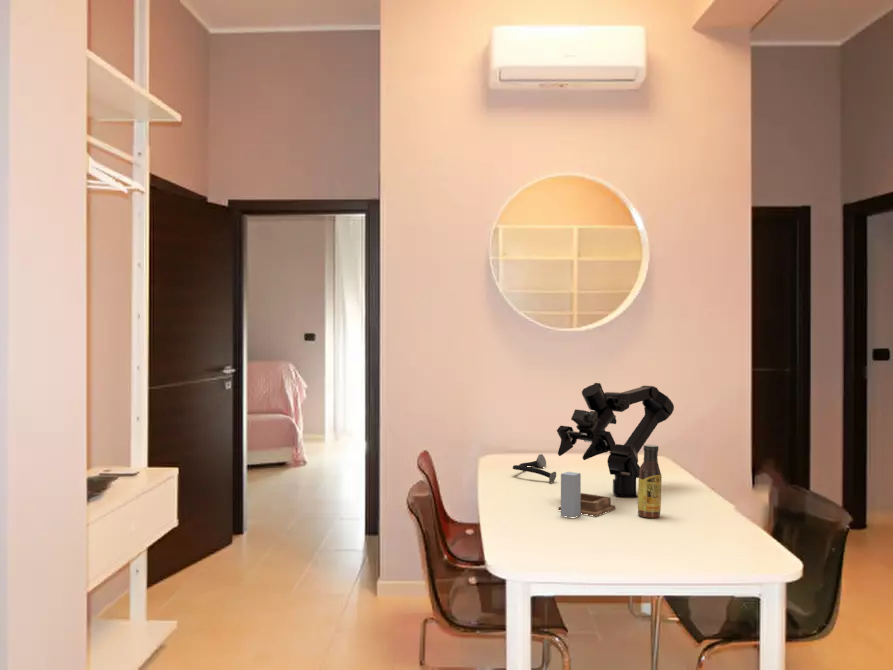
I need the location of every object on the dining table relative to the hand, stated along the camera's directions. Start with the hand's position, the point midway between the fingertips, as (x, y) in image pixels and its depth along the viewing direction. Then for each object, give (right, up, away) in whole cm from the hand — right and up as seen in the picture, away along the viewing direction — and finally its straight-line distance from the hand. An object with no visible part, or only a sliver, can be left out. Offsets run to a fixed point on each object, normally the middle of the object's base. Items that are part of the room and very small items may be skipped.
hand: (570, 456), depth 227 cm
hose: (-4, -15, +53) cm, 55 cm away
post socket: (+4, -15, -2) cm, 16 cm away
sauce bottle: (+21, -15, -9) cm, 27 cm away
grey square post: (-2, -15, -10) cm, 18 cm away
